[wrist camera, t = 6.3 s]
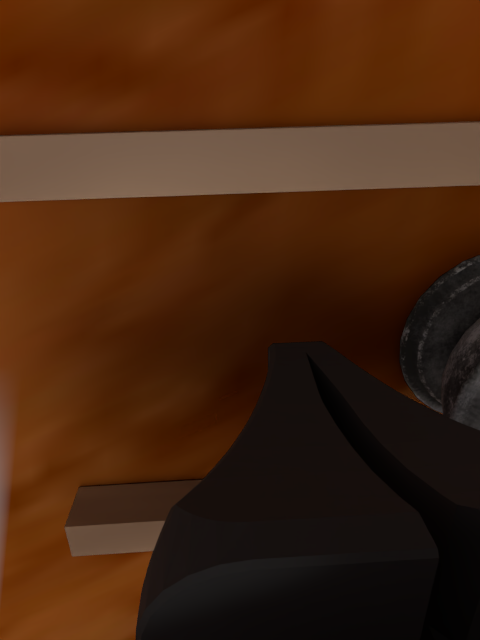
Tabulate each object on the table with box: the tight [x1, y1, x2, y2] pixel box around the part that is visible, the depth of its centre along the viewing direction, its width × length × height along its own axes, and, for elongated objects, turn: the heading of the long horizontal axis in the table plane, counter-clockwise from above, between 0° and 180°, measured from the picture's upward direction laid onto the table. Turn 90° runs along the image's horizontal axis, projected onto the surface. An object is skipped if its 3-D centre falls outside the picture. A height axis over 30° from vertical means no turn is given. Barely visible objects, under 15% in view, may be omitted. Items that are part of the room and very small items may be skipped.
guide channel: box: [0, 121, 480, 556], centre depth 11 cm, size 11×17×4 cm
